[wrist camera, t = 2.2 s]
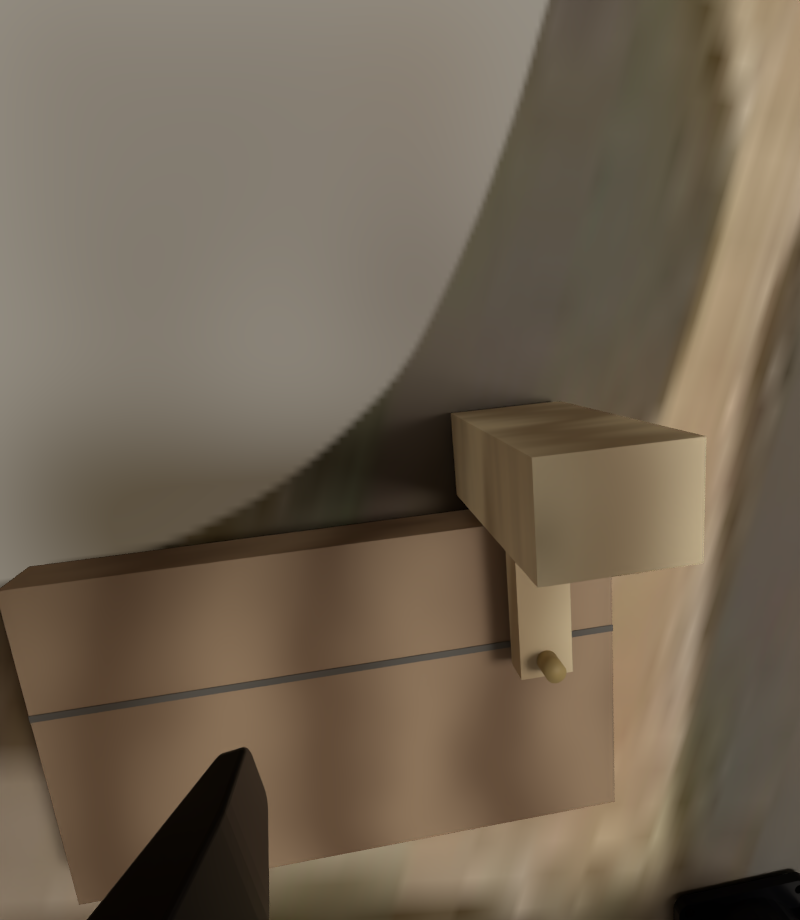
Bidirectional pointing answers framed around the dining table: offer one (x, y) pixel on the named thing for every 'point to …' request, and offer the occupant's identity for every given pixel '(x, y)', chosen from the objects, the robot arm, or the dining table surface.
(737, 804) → the dining table surface
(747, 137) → the dining table surface
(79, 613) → the board
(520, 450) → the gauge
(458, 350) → the dining table surface
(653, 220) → the dining table surface
